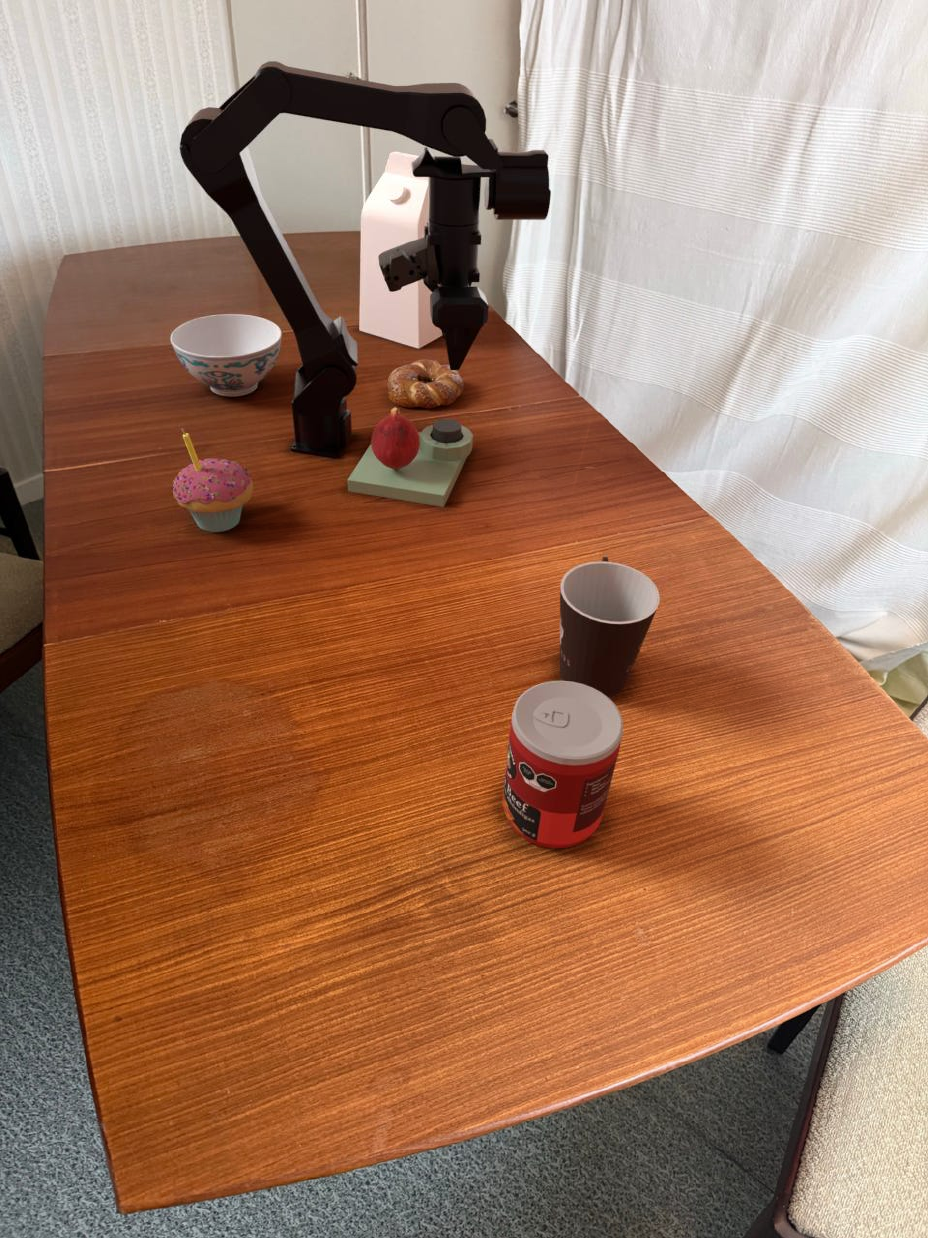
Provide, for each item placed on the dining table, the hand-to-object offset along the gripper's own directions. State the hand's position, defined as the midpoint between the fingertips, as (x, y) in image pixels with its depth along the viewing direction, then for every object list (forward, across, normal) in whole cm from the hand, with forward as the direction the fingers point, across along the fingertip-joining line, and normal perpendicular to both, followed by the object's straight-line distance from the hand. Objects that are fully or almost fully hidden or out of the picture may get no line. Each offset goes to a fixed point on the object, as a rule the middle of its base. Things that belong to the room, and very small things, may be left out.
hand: (450, 353), depth 103 cm
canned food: (+12, +60, +2) cm, 61 cm away
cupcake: (+12, +17, -28) cm, 35 cm away
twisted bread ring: (+12, -14, -2) cm, 19 cm away
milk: (+12, -39, -3) cm, 41 cm away
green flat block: (+12, +7, -6) cm, 15 cm away
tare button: (+9, +5, -1) cm, 10 cm away
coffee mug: (+12, +44, +10) cm, 46 cm away
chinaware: (+12, -17, -30) cm, 36 cm away
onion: (+11, +10, -8) cm, 16 cm away
